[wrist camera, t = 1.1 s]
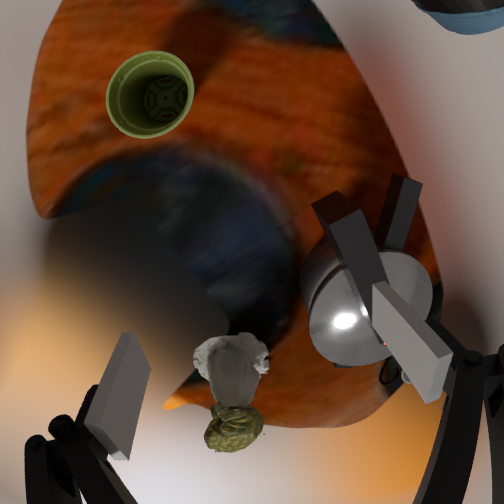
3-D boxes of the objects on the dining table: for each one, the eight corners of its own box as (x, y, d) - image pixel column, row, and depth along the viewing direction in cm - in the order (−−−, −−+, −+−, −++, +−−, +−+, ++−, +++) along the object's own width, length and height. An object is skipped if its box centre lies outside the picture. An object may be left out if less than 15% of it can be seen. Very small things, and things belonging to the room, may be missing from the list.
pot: (371, 335, 51) (390, 369, 42) (282, 328, 49) (290, 367, 41) (427, 182, 40) (463, 198, 32) (328, 153, 38) (352, 162, 30)
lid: (435, 321, 39) (461, 354, 32) (335, 377, 42) (348, 416, 35) (388, 158, 29) (427, 171, 22) (247, 234, 32) (250, 267, 25)
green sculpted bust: (180, 342, 49) (162, 432, 32) (252, 318, 48) (259, 412, 31) (212, 386, 54) (207, 470, 37) (277, 367, 52) (291, 454, 36)
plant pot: (206, 129, 36) (197, 130, 28) (135, 140, 36) (110, 145, 28) (200, 60, 32) (190, 43, 25) (129, 73, 32) (103, 62, 24)
